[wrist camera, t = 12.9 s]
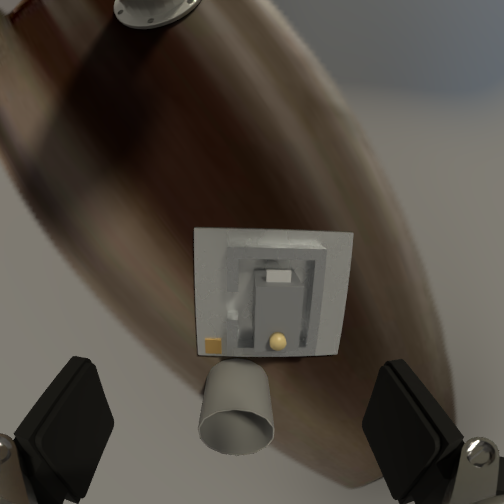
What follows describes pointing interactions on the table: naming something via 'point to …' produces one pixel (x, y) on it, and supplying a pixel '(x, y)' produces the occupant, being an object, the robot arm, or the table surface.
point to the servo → (276, 310)
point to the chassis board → (242, 278)
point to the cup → (236, 408)
